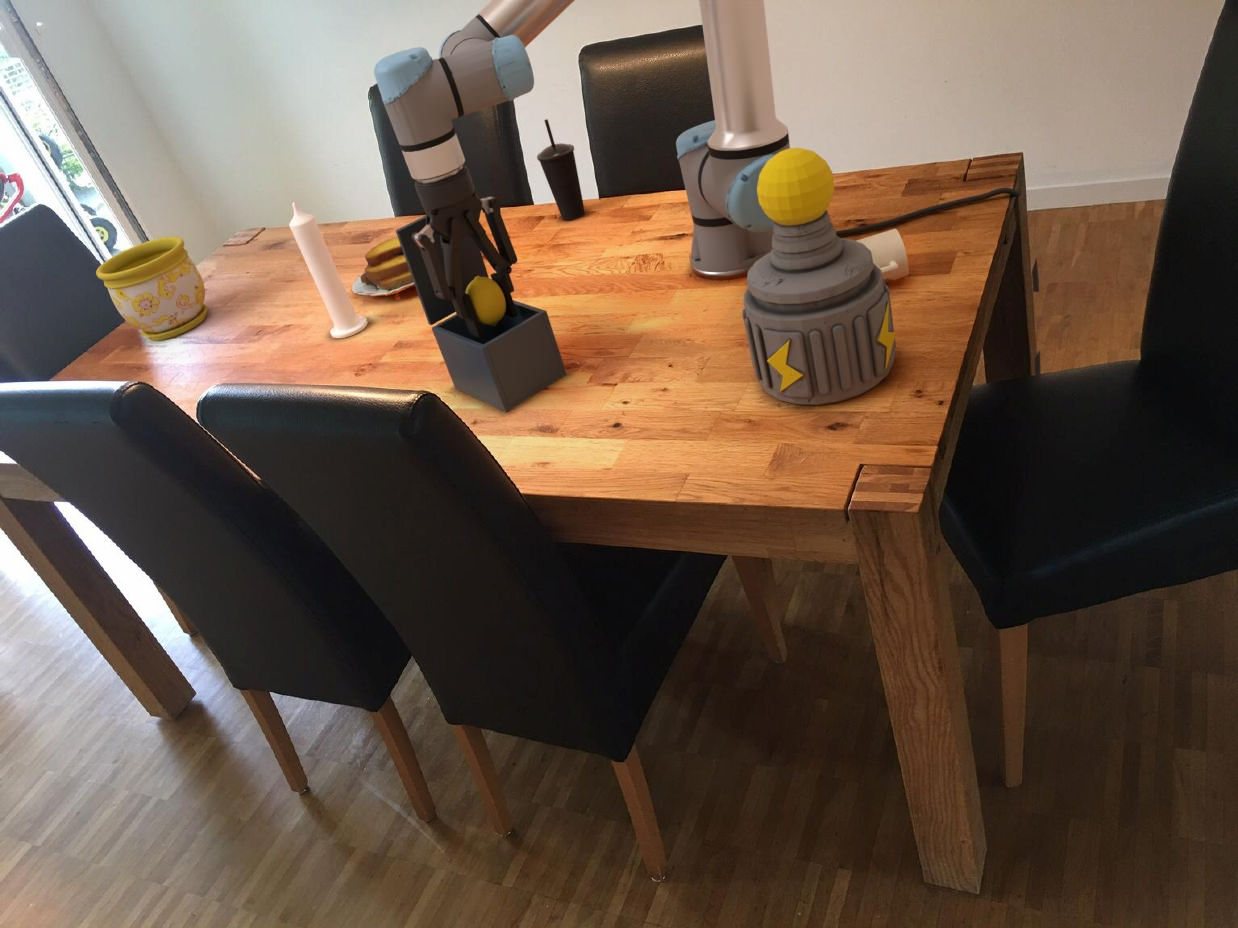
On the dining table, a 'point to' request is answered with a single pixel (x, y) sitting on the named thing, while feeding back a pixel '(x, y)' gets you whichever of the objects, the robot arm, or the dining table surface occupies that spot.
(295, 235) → the candle
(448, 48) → the robot arm
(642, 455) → the dining table surface
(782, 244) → the decorative lamp
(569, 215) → the drinking cup
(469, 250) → the lid
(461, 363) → the box
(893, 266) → the character mug
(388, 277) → the food on plate
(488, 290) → the lemon
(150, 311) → the flowerpot
